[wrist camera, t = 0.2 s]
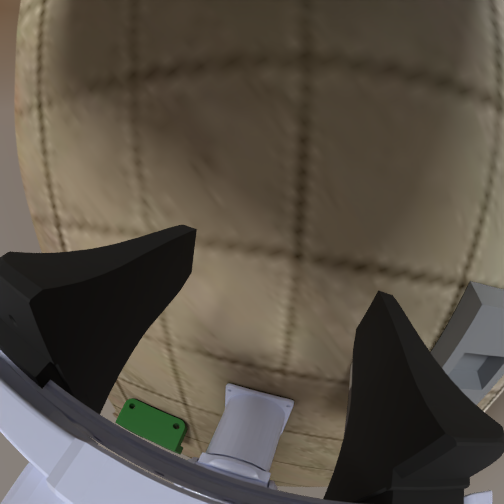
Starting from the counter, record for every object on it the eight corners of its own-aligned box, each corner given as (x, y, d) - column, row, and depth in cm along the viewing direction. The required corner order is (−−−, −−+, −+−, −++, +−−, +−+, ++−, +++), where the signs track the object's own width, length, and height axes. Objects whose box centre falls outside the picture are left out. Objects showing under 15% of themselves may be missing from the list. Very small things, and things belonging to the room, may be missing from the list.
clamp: (155, 395, 48) (121, 423, 43) (146, 384, 44) (109, 414, 39) (200, 438, 43) (164, 469, 38) (195, 432, 39) (155, 467, 34)
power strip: (421, 436, 28) (421, 458, 25) (369, 432, 30) (367, 455, 27) (530, 296, 16) (546, 321, 13) (470, 281, 18) (484, 309, 15)
